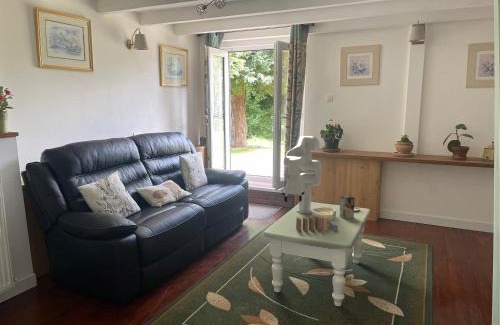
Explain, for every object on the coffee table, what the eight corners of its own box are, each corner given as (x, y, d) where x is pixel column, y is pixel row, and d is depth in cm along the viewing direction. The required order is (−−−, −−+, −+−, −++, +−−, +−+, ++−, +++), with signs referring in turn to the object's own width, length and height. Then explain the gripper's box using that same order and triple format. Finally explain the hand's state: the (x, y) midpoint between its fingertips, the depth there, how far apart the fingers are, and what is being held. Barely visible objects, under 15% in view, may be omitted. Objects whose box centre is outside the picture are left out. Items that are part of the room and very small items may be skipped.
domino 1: (296, 229, 248) (296, 216, 247) (298, 229, 249) (299, 216, 247) (298, 232, 243) (298, 219, 242) (301, 231, 243) (301, 219, 242)
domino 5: (320, 228, 251) (321, 215, 250) (323, 227, 251) (324, 215, 250) (323, 230, 246) (324, 218, 244) (326, 230, 246) (327, 218, 245)
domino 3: (308, 228, 250) (309, 216, 248) (311, 228, 250) (311, 216, 248) (311, 231, 244) (311, 218, 243) (313, 231, 245) (314, 218, 243)
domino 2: (302, 229, 249) (302, 216, 248) (305, 228, 249) (305, 216, 248) (304, 231, 244) (305, 219, 242) (307, 231, 244) (308, 218, 242)
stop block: (329, 227, 253) (329, 221, 252) (333, 226, 254) (333, 221, 253) (333, 231, 245) (333, 225, 245) (337, 230, 246) (337, 225, 245)
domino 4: (314, 228, 250) (315, 216, 249) (317, 228, 251) (318, 215, 249) (317, 231, 245) (317, 218, 243) (320, 231, 245) (320, 218, 244)
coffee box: (350, 215, 280) (351, 195, 277) (353, 218, 274) (355, 197, 271) (339, 216, 278) (340, 196, 275) (342, 218, 272) (343, 198, 269)
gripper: (282, 178, 234) (281, 203, 237) (307, 177, 236) (306, 202, 239) (279, 176, 242) (279, 200, 244) (304, 175, 244) (303, 200, 246)
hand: (292, 201), depth 242 cm, fingers open, 9 cm apart
